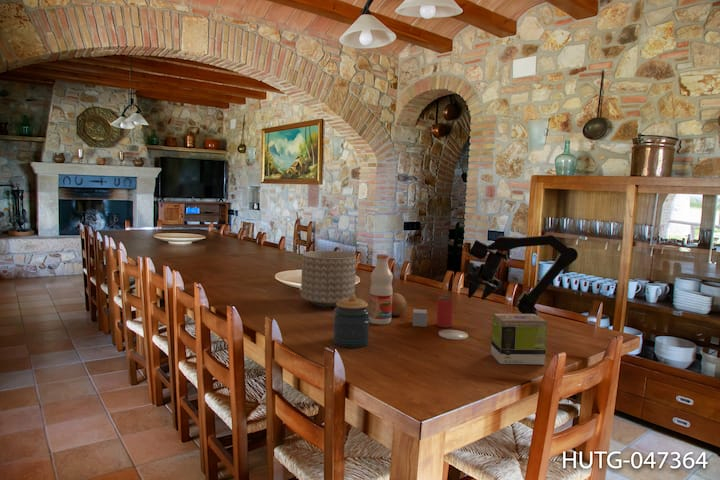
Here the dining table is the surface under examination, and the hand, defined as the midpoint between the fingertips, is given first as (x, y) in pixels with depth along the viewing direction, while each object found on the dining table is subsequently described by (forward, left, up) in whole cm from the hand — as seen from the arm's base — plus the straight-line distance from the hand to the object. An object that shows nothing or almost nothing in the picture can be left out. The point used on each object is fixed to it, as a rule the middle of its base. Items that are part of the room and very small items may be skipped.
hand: (475, 298), depth 196 cm
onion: (+22, +25, -11) cm, 36 cm away
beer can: (+2, +13, -11) cm, 18 cm away
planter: (+48, +47, -11) cm, 69 cm away
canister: (-6, +58, -11) cm, 60 cm away
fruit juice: (+15, +36, -11) cm, 41 cm away
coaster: (-10, +17, -11) cm, 23 cm away
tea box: (-39, +12, -11) cm, 42 cm away
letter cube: (+7, +22, -11) cm, 26 cm away
